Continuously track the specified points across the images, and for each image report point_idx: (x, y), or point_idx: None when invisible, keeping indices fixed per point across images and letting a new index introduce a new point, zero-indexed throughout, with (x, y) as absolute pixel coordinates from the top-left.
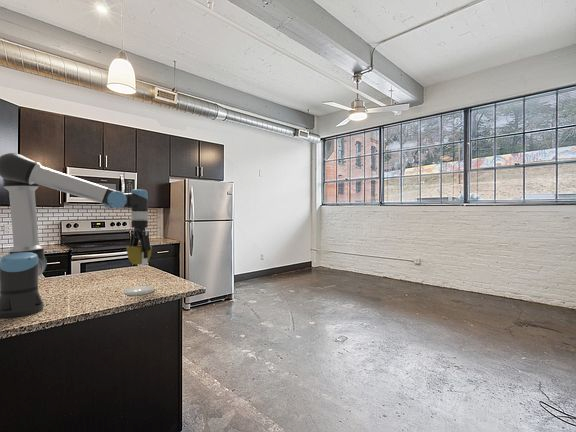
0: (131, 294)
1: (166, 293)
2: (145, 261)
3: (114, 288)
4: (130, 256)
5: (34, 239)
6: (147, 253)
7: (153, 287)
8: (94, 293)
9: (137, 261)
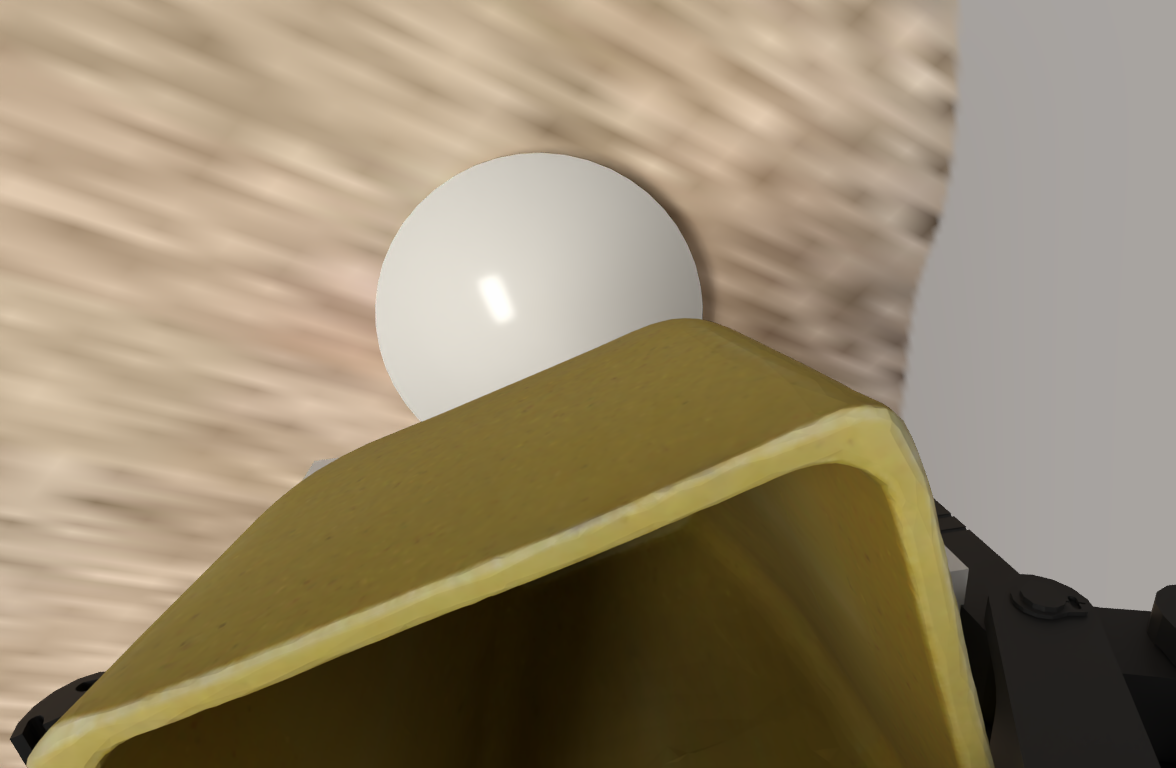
0: None
1: (838, 113)
2: None
3: (203, 464)
4: (571, 762)
5: None
6: (1003, 563)
7: (565, 155)
8: None
9: (712, 592)
